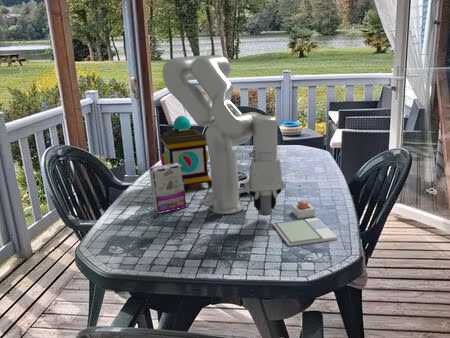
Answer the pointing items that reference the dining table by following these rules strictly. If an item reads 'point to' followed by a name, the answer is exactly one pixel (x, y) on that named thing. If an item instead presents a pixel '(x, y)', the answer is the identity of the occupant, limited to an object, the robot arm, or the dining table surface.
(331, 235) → the picture board
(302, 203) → the button
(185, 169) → the decorative lantern
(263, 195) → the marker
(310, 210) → the button housing
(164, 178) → the candy bar box
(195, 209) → the dining table surface
